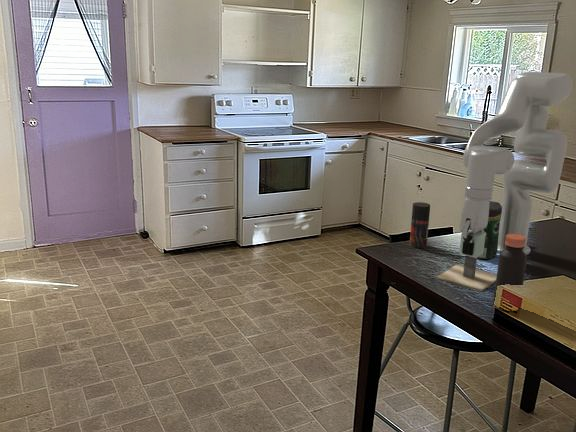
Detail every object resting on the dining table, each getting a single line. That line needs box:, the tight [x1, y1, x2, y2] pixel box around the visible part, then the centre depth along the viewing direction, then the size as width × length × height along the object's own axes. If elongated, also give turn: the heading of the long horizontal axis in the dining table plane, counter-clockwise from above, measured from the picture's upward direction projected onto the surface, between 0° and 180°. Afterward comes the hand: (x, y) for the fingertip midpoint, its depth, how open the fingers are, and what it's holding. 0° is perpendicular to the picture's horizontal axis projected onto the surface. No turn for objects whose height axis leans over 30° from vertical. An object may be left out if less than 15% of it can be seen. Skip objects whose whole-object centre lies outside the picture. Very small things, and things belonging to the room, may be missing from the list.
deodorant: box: [409, 201, 431, 249], centre depth 195 cm, size 6×6×15 cm
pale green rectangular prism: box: [458, 229, 486, 259], centre depth 166 cm, size 5×5×7 cm
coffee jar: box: [477, 200, 502, 260], centre depth 186 cm, size 10×8×19 cm
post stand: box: [436, 255, 497, 292], centre depth 168 cm, size 14×14×7 cm
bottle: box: [492, 234, 528, 306], centre depth 148 cm, size 7×7×20 cm
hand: (471, 251), depth 167 cm, fingers closed on pale green rectangular prism, 5 cm apart
